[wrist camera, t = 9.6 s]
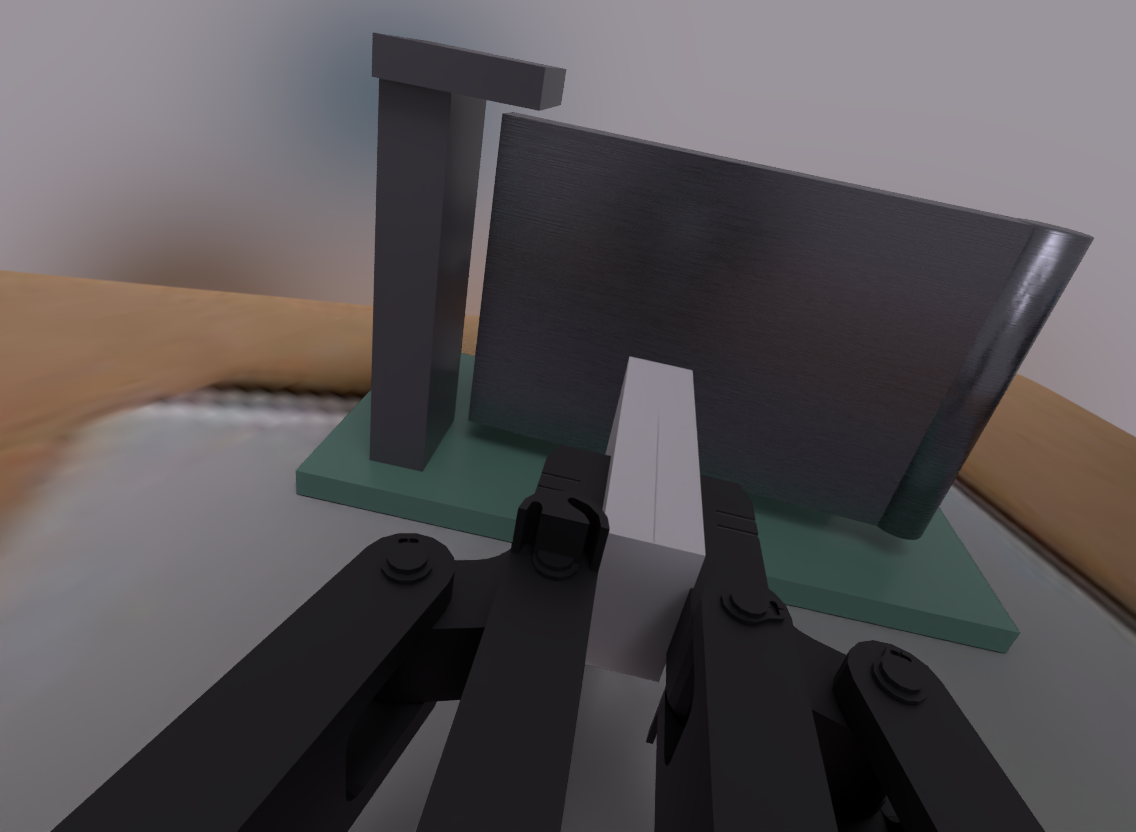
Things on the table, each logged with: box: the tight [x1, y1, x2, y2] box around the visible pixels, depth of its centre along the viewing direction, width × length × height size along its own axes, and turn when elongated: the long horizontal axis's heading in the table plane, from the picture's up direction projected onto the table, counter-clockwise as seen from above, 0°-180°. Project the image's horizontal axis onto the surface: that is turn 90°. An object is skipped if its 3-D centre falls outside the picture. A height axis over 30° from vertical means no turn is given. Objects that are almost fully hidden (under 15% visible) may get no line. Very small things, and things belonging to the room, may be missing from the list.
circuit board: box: [296, 353, 1020, 653], centre depth 27 cm, size 25×12×1 cm, turn 83°
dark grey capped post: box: [370, 33, 566, 472], centre depth 21 cm, size 4×4×14 cm
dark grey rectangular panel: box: [468, 112, 1094, 540], centre depth 22 cm, size 18×2×11 cm, turn 79°
